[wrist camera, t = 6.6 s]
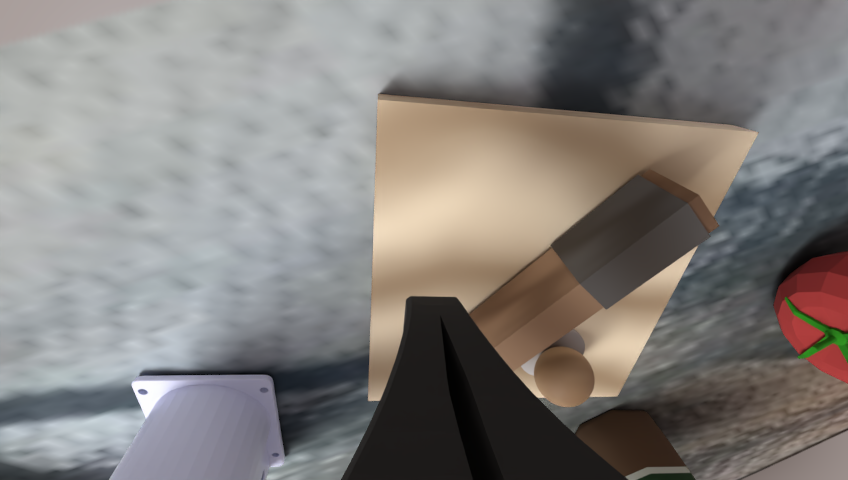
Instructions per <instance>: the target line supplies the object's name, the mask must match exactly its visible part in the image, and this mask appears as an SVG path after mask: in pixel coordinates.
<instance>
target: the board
mask: <svg viewBox="0 0 848 480" xmlns="http://www.w3.org/2000/svg"><path fill="white" fill-rule="evenodd" d="M758 133H759V132H756V131H752V130H749V129H745V128H741V127H738V126H734V125H728V124H716V123H705V122H694V121H682V120H671V119H659V118H648V117H637V116H625V115H614V114H603V113H591V112H580V111H569V110H557V109H546V108H535V107H523V106H512V105H500V104H489V103H478V102H466V101H455V100H444V99H432V98H421V97H410V96H398V95H387V94H378V109H377V139H376V170H375V201H374V232H373V262H372V293H371V324H370V355H369V386H368V401H380V399H381V397H382V395H383V392H384V390H385V387H386V384H387V382H388V379H389V376H390V373H391V371H392V368H393V365H394V362H395V359H396V356H397V353H398V349H399V346H400V342H401V339H402V335H403V326H404V315H405V304H406V299H407V298H409V297H410V296H435V297H457V298H458V299H459V301H460V302H461V303H462V305H463V306H464V308H465V309H466V311H467V312H468V314H470V313H472V312H473V311H474V310H475V309H477V308H478V307H479V306H480V305H482V304H483V303H484V302H485V301H487V300H488V299H489V298H490V297H492V296H493V295H494V294H495V293H496V292H498V291H499V290H500V289H501V288H503V287H504V286H505V285H506V284H508V283H509V282H510V281H511V280H513V279H514V278H515V277H516V276H518V275H519V274H520V273H521V272H523V271H524V270H525V269H526V268H528V267H529V266H530V265H531V264H532V263H534V262H535V261H536V260H537V259H539V258H540V257H541V256H542V255H544V254H545V253H546V252H547V251H549V250H550V249H551V248H552V247H551V246H550V245H551V244H553V243H554V242H555V241H556V240H558V239H559V238H560V237H561V236H563V235H564V234H565V233H566V232H568V231H569V230H570V229H571V228H572V227H574V226H575V225H576V224H577V223H579V222H580V221H581V220H582V219H584V218H585V217H586V216H587V215H589V214H590V213H591V212H592V211H593V210H595V209H596V208H597V207H598V206H600V205H601V204H602V203H603V202H605V201H606V200H607V199H608V198H610V197H611V196H612V195H613V194H614V193H616V192H617V191H618V190H619V189H621V188H622V187H623V186H624V185H626V184H627V183H628V182H629V181H631V180H632V179H633V178H634V177H635V176H637V175H639V176H642V175H643V174H644V173H645V172H647V171H648V170H649V169H651V170H653V171H655V172H657V173H659V174H660V175H662V176H664V177H666V178H668V179H670V180H672V181H674V182H676V183H678V184H679V185H681V186H683V187H685V188H687V189H689V190H691V191H693V192H695V193H697V194H698V195H700V197H701V199H702V200H703V202H704V203H705V205H706V206H707V208H708V209H709V211H710V212H711V214H712V215H713V217H714V215H715V213H716V211H717V210H718V208H719V206H720V204H721V202H722V200H723V198H724V196H725V195H726V193H727V191H728V189H729V187H730V185H731V183H732V182H733V180H734V178H735V176H736V174H737V172H738V170H739V168H740V167H741V165H742V163H743V161H744V159H745V157H746V155H747V154H748V152H749V150H750V148H751V146H752V144H753V142H754V140H755V139H756V137H757V135H758ZM697 247H698V246H697ZM697 247H695V248H694V249H692V250H691V251H689V252H688V253H687V254H685V255H684V256H682V257H681V258H679V259H678V260H677V261H675V262H674V263H672V264H671V265H670V266H668V267H667V268H665V269H664V270H662V271H661V272H660V273H658V274H657V275H655V276H654V277H652V278H651V279H650V280H648V281H647V282H645V283H644V284H642V285H641V286H640V287H638V288H637V289H635V290H634V291H633V292H631V293H630V294H628V295H627V296H625V297H624V298H623V299H621V300H620V301H618V302H617V303H615V304H614V305H613V306H611V307H610V308H608V309H607V310H606V309H605V308H602V309H601V310H600V311H598V312H597V313H595V314H594V315H592V316H591V317H590V318H588V319H587V320H585V321H584V322H583V323H581V324H580V325H578V326H577V327H575V328H574V329H573V330H571V331H570V332H568V333H567V334H566V335H564V336H563V337H561V338H560V339H559V340H557V341H556V342H554V343H553V344H551V345H550V346H549V347H547V348H546V349H544V350H543V351H542V352H540V353H539V354H537V355H536V356H534V357H533V358H532V359H530V360H529V361H527V362H526V363H525V364H523V365H522V366H520V367H519V368H517V369H516V370H515V371H513V372H514V373H515V374H516V375H517V376H518V377H519V378H520V379H521V381H522V382H523V383H524V384H525V385H526V386H527V387H528V388H529V389H530V391H531V392H532V393H533V394H534V395H535V396H536V397H537V398H546V399H547V400H549V401H550V402H552V403H554V404H556V405H558V406H562V407H574V406H577V405H580V404H582V403H583V402H585V401H586V400H587V399H588V398H589V397H613V396H618V394H619V392H620V391H621V389H622V387H623V385H624V383H625V381H626V379H627V377H628V376H629V374H630V372H631V370H632V368H633V366H634V364H635V363H636V361H637V359H638V357H639V355H640V353H641V351H642V349H643V348H644V346H645V344H646V342H647V340H648V338H649V336H650V335H651V333H652V331H653V329H654V327H655V325H656V323H657V321H658V320H659V318H660V316H661V314H662V312H663V310H664V308H665V307H666V305H667V303H668V301H669V299H670V297H671V295H672V293H673V292H674V290H675V288H676V286H677V284H678V282H679V280H680V279H681V277H682V275H683V273H684V271H685V269H686V267H687V265H688V264H689V262H690V260H691V258H692V256H693V254H694V252H695V251H696V249H697Z"/></svg>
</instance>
